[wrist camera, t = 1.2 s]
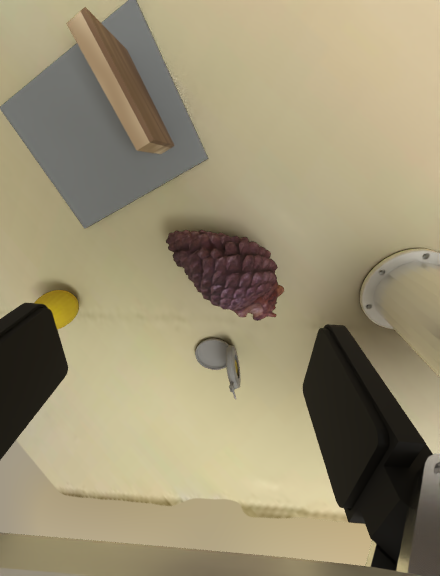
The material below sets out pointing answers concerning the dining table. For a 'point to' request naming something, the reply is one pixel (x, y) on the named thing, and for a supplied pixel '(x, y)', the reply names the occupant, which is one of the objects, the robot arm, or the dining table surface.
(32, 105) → the mat
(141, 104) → the wooden block
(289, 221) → the dining table surface
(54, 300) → the lemon
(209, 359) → the pocket watch
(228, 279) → the pine cone
